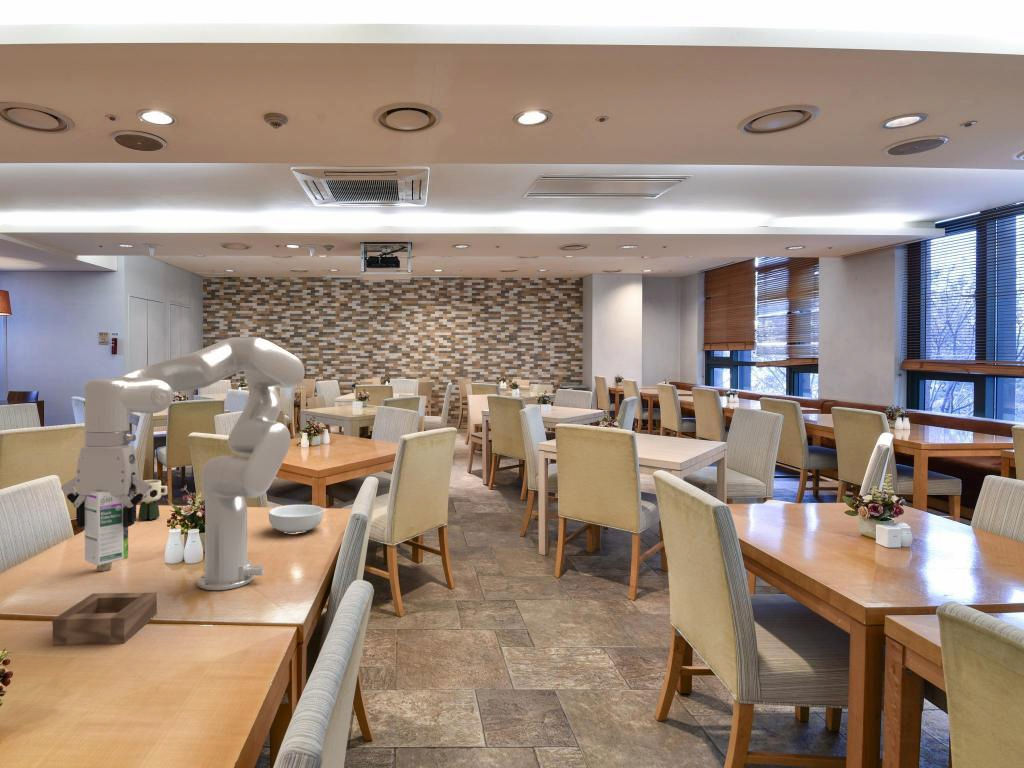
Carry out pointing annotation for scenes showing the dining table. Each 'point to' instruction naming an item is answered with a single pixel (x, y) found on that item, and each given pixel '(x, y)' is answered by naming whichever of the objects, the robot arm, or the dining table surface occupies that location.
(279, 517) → the cereal bowl
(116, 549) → the syrup box
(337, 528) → the dining table surface
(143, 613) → the socket
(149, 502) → the character mug
